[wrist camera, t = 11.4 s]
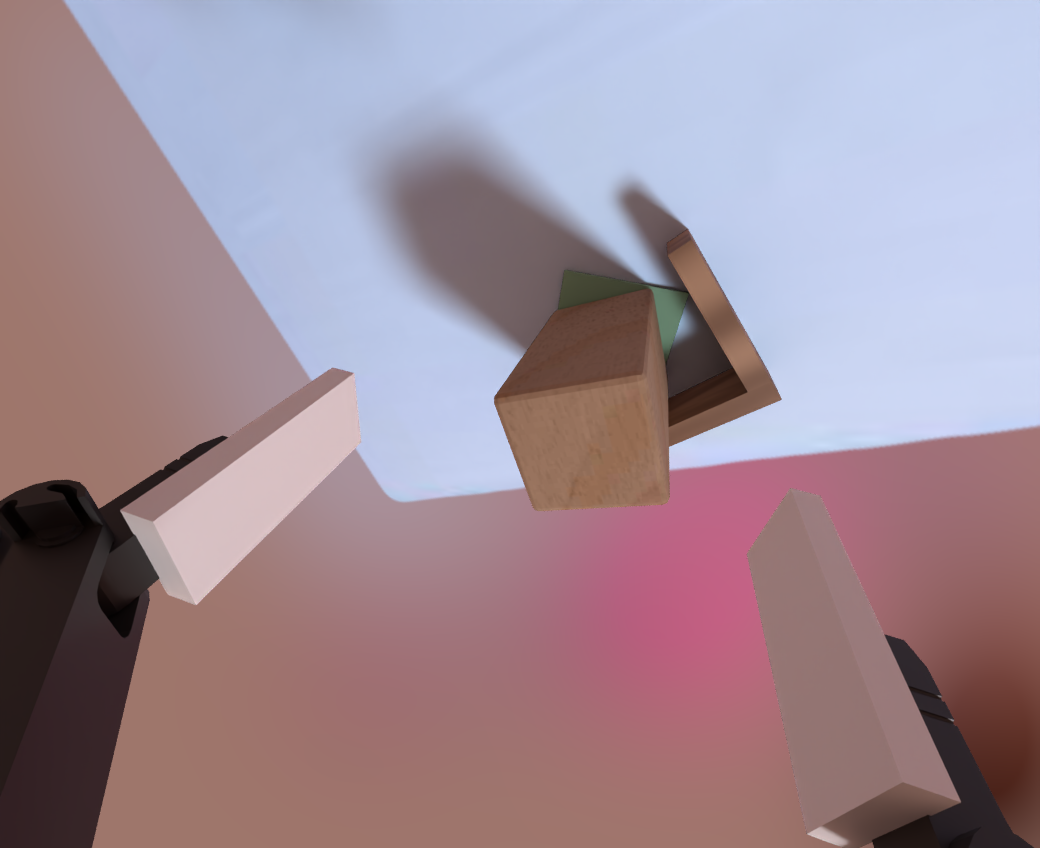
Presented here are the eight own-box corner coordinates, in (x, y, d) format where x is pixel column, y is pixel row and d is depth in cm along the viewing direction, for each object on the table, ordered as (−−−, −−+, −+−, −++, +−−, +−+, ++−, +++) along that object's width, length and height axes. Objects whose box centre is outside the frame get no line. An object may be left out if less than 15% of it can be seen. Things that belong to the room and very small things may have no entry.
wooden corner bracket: (518, 344, 48) (501, 365, 43) (688, 228, 38) (691, 239, 33) (596, 449, 52) (589, 479, 48) (768, 371, 42) (781, 399, 37)
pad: (547, 377, 49) (546, 378, 49) (565, 269, 43) (564, 270, 42) (653, 401, 47) (653, 403, 47) (688, 292, 41) (688, 293, 40)
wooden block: (652, 286, 41) (644, 372, 24) (668, 380, 45) (670, 507, 29) (553, 310, 45) (489, 398, 28) (576, 394, 49) (532, 514, 33)
